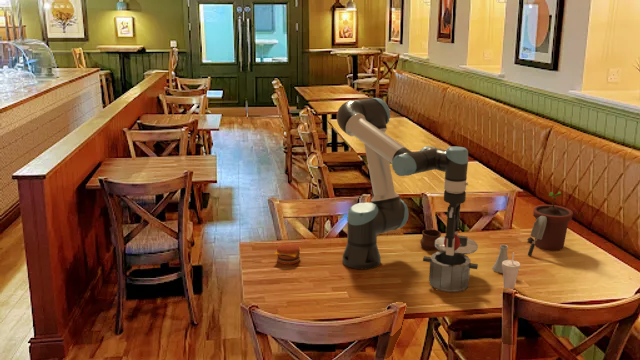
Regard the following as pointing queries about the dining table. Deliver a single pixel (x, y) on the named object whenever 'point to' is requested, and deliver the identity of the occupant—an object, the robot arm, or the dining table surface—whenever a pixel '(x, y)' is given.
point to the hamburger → (288, 253)
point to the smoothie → (510, 272)
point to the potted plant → (549, 226)
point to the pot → (449, 271)
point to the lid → (465, 246)
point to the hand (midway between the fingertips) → (451, 251)
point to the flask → (501, 259)
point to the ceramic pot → (430, 239)
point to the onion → (456, 244)
